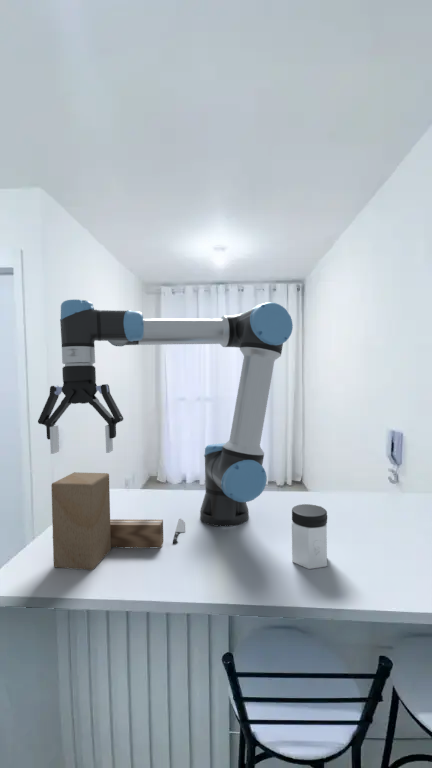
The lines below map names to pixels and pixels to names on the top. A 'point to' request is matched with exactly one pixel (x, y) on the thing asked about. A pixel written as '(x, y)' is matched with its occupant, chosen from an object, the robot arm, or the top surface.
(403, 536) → the top surface
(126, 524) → the brown wooden bar
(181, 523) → the chef's knife
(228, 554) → the top surface
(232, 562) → the top surface
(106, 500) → the wooden block
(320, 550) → the jar
